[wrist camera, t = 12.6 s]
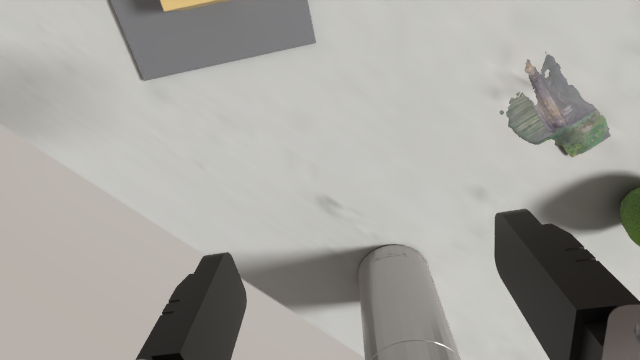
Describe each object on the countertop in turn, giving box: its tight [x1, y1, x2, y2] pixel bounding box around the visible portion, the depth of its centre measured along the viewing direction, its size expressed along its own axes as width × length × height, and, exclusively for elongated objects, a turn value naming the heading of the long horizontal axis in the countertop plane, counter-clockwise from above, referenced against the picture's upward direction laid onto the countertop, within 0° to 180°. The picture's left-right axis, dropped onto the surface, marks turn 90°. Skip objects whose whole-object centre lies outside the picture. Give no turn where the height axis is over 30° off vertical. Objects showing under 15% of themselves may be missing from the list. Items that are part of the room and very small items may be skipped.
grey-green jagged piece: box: [500, 52, 610, 157], centre depth 36 cm, size 20×8×1 cm, turn 45°
